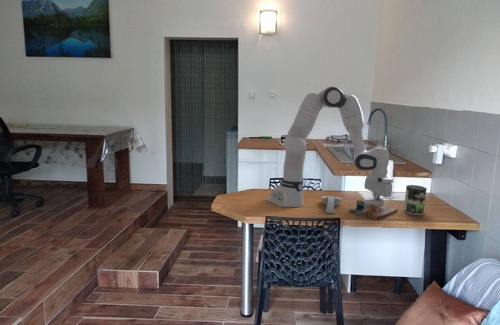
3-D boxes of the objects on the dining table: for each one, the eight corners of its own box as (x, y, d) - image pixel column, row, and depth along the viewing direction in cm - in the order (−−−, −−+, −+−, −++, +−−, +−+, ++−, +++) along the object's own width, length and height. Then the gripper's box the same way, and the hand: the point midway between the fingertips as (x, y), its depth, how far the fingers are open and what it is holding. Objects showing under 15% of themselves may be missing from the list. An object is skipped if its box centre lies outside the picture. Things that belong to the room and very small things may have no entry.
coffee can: (427, 214, 203) (431, 189, 200) (411, 215, 200) (414, 190, 197) (414, 208, 213) (417, 184, 210) (399, 209, 210) (402, 185, 207)
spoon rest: (321, 200, 223) (322, 189, 222) (341, 202, 221) (342, 190, 219) (319, 213, 200) (320, 200, 199) (342, 215, 198) (343, 202, 197)
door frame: (348, 211, 203) (349, 200, 202) (368, 204, 218) (369, 193, 217) (378, 220, 191) (379, 207, 190) (397, 211, 206) (398, 200, 205)
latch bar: (359, 208, 200) (359, 201, 200) (354, 205, 204) (355, 199, 203) (383, 205, 206) (384, 199, 205) (379, 203, 209) (379, 197, 209)
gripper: (362, 172, 215) (360, 195, 218) (385, 181, 196) (382, 206, 199) (372, 172, 217) (370, 195, 220) (395, 180, 198) (392, 205, 200)
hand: (376, 200), depth 209 cm, fingers closed
